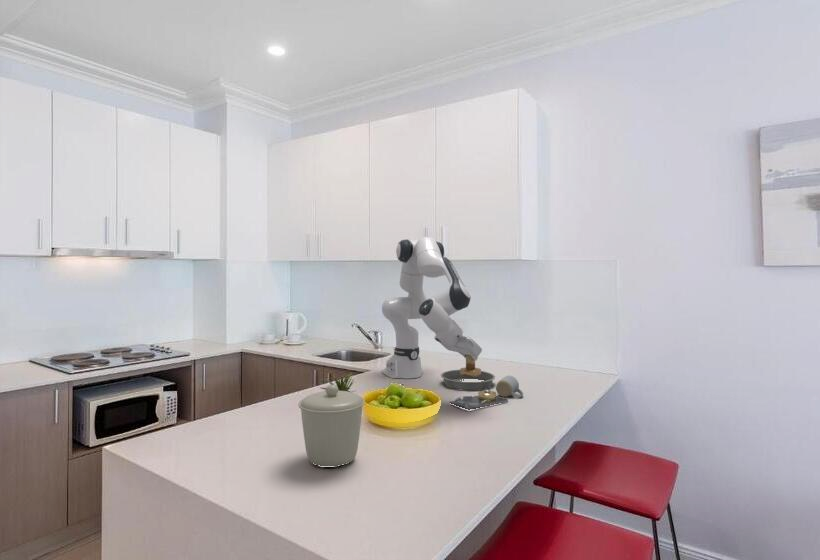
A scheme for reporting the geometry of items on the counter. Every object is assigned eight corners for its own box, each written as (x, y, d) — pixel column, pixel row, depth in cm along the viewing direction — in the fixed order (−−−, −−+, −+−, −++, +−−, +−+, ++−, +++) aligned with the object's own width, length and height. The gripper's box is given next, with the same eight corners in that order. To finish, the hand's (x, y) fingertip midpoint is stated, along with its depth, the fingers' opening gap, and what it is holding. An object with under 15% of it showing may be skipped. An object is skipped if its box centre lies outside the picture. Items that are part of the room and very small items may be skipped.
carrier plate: (449, 404, 181) (449, 392, 181) (487, 396, 193) (487, 385, 193) (469, 412, 171) (469, 399, 171) (508, 402, 184) (508, 391, 183)
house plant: (333, 409, 174) (332, 366, 174) (367, 413, 170) (366, 369, 170) (314, 421, 161) (313, 374, 160) (350, 425, 156) (350, 377, 156)
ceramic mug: (494, 396, 193) (495, 378, 192) (502, 391, 200) (502, 374, 199) (519, 400, 187) (519, 381, 187) (526, 396, 194) (526, 377, 194)
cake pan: (438, 390, 203) (438, 380, 202) (443, 377, 227) (444, 368, 227) (495, 393, 198) (495, 382, 198) (494, 379, 222) (495, 370, 222)
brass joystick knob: (455, 374, 180) (455, 348, 180) (471, 371, 185) (471, 346, 185) (469, 377, 174) (469, 351, 174) (485, 374, 179) (485, 349, 178)
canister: (335, 443, 141) (334, 374, 140) (378, 458, 129) (378, 383, 129) (285, 462, 127) (284, 386, 126) (328, 481, 115) (328, 397, 115)
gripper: (472, 331, 167) (493, 355, 172) (441, 326, 185) (461, 348, 190) (462, 344, 165) (484, 369, 170) (431, 337, 183) (452, 360, 187)
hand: (471, 358), depth 180 cm, fingers closed on brass joystick knob, 4 cm apart
